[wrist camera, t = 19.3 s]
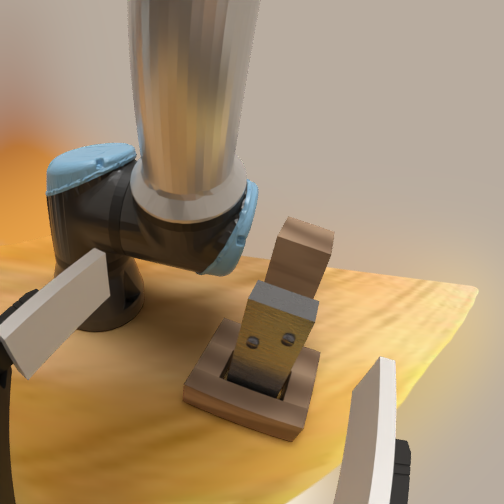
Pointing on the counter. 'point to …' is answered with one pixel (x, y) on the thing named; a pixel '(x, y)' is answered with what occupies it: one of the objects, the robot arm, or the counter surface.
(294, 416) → the wooden post with frame
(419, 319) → the counter surface
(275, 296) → the grey metal block
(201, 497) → the counter surface
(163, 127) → the robot arm
